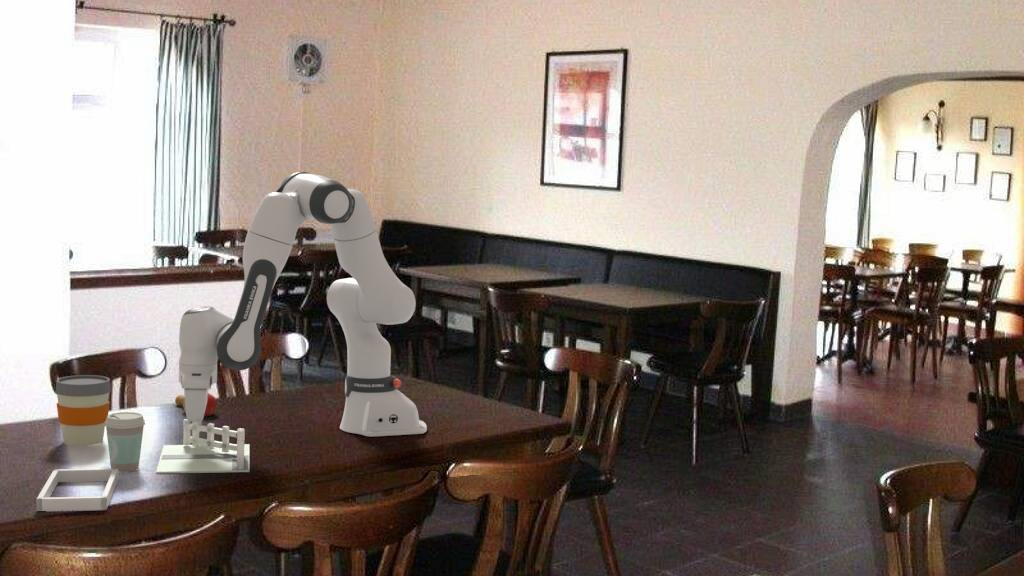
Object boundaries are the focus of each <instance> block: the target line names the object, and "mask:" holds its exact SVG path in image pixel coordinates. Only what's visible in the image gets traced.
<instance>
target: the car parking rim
mask: <svg viewBox="0 0 1024 576" xmlns="http://www.w3.org/2000/svg"><path fill="white" fill-rule="evenodd" d="M118 481H119V472H118V468H113V469H111V468H71V469H70V468H67V469H66V468H59V469H56V468H55V469H53V470H52V473H51V474H50V475H49V477H48V479H47V480H46V482H45V484H44V485H43V487H42V489H41V491H40V492H39V494H38V496H37V497H36V507H35V508H36V510H35V511H46V512H76V511H77V512H78V511H79V512H83V511H87V512H88V511H107V510H108V507H109V505H110V502H111V499H112V497H113V494H114V491H115V489H116V486H117V483H118ZM77 482H78V483H81V482H107V483H106V486H105V488H104V490H103V493H102V495H101V496H99V495H97V496H59V497H58V496H57V497H55V496H52V494H53V493H54V491H55V489H56V487H57V485H58V483H77ZM52 492H53V493H52ZM62 510H63V511H62ZM67 510H68V511H67ZM72 510H73V511H72Z"/></svg>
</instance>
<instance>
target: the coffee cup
mask: <svg viewBox="0 0 1024 576" xmlns="http://www.w3.org/2000/svg"><path fill="white" fill-rule="evenodd" d="M145 425H146V420H145V419H144V416H143V414H142V413H139V412H131V411H123V412H115V413H110V414H108V416H107V419H106V421H105V427H106V428H105V430H106V437H107V447H108V455H109V456H108V457H109V463H110V469H113V468H118V473H129V472H130V473H131V472H134V471H137V470H138V469H139V467H140V459H141V449H142V442H143V436H144V435H143V433H144V427H145Z"/></svg>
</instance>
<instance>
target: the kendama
mask: <svg viewBox="0 0 1024 576" xmlns="http://www.w3.org/2000/svg"><path fill="white" fill-rule="evenodd" d="M174 400H175V401H174V403H175V404H176V406H177V407H182V408H183V410H184V412H185V413H186V409H185V397H184V395H182V394H179V395H177V396H176V397H175V399H174ZM217 409H218V401H217V399H216V397H215V396H214V395H212V394H210V393H209V391H208V392H207V405H206V409H205V413H204V417H209V416H211V415H213V414H214V413H215V412H216V410H217Z"/></svg>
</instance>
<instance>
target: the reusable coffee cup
mask: <svg viewBox="0 0 1024 576" xmlns="http://www.w3.org/2000/svg"><path fill="white" fill-rule="evenodd" d="M55 383H56V384H55V394H56V396H57V402H56V409H57V417H58V423H59V424H60V425H61V433H62V439H63V441H62V442H63V444H64V445H68V446H74V447H83V446H85V447H86V446H93V445H94V446H95V445H97V444H101V443H103V442H104V436H105V430H106V428H105V427H106V426H105V421H106V419H107V416H108V415H109V411H110V401H109V398H110V397H109V396H110V393H111V392H112V389H111V388H112V387H111V380H110V378H109V377H107V376H104V375H96V374H95V375H92V374H91V375H90V374H81V375H80V374H79V375H70V376H69V375H68V376H63V377H58V378H57V379H56V382H55Z"/></svg>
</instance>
